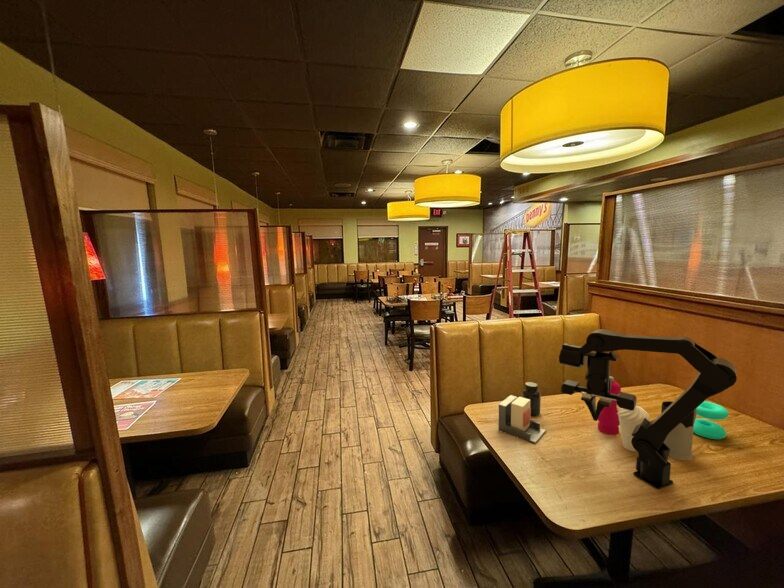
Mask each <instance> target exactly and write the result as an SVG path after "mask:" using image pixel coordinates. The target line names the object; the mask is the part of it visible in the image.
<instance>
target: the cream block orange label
mask: <svg viewBox="0 0 784 588" xmlns="http://www.w3.org/2000/svg"><path fill="white" fill-rule="evenodd" d="M531 418H532V417H531V408H530V399H526V398H523V397H522V396H517V399H516V400H515V401H513V402H512V403H511V426H512V427H515V428H518V429H520V430H523V431H525V430H526V429H527V428H528V427H529V426H530V421H531V420H532V419H531Z"/></svg>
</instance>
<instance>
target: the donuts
mask: <svg viewBox="0 0 784 588" xmlns="http://www.w3.org/2000/svg"><path fill="white" fill-rule="evenodd" d="M696 409H697V413H696V416H698V417H700V418H697V417H696V419H695V422H694V430H693V434H696V435H698V436H699V437H702V438H706V439H711V440H712V439H713V440H723V439H725V438H726V437H727V434H728V433H727V431H726V429H725V428H724V427H723V426H721V424H718V423H716V422H715V421H721V420H725V419H727V418H728V417H729V411H728V410H727V408H725V407H723V406H722V405H720V404H717V403H714V402H710V401H708V400H707V401H706V400H705V401H704V402H703V403H702V404H701V405H699V406H698V407H697V408H696ZM711 420H714V421H711Z"/></svg>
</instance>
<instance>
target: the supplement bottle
mask: <svg viewBox="0 0 784 588" xmlns="http://www.w3.org/2000/svg"><path fill="white" fill-rule="evenodd" d="M541 395H542V394H541V392H540V391H539V385H538V383H537V382H532V381H527V382H525V383H524V388H523V390H522V391H521V397H523V398H526V399H530V408H531V418H532V417H533V418H535V417H539V416H540V415H541V404H542V403H541V402H542V401H541V400H542V399H541V398H542V396H541Z"/></svg>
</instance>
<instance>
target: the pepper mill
mask: <svg viewBox="0 0 784 588" xmlns="http://www.w3.org/2000/svg"><path fill="white" fill-rule="evenodd" d="M609 378H610V379H612V383H611V390H610V391H608V393H612V394H615V395H619V393H620V392H622V387H621V385H620V384H619V383H618V382H617V381H616V380H615V378H614V377H613V376H611V375H609ZM617 413H618V405H617V402H616V401H612V403H611V404H610V406H609V407H604V408H603V410H602V411H601V414H600V416H599V418H598V420H597V422H598V423H597V429H598V430H599V431H600V432H601V433H603V434H607V435H610V436H616V435H619V432H620V430H619V428H620V421H619V415H618V414H617Z"/></svg>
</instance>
